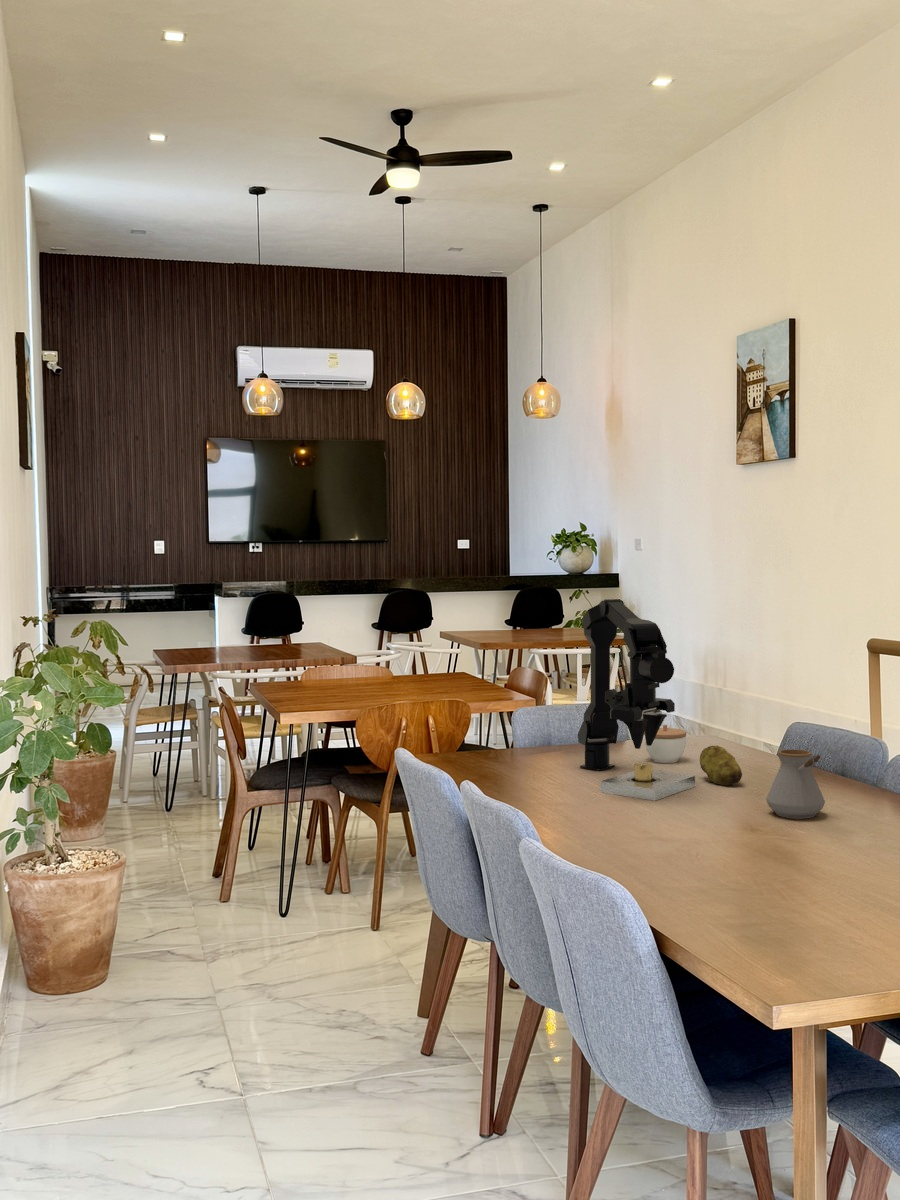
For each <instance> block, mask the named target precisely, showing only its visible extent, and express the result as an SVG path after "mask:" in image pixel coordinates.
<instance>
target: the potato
mask: <svg viewBox="0 0 900 1200" xmlns="http://www.w3.org/2000/svg"><path fill="white" fill-rule="evenodd" d="M699 764H700V769H701V770H702V771H703V772H704V773H705V774H706V776H707V778H708V780H709V781H711V782H712V783H714V784H718V785H722V786H734V785H736V784H738V783H739V782H740V781H741V780H742V777H743V773H742V769H741V767H740V765H739V763H738V762H737V760H736V757H734V756H733V755H732V754H731V753H730V752H728V750H726V748H725V747H722V746H720V745H710V746H707V747H704V748H703V749H702V751H701V752H700V755H699Z"/></svg>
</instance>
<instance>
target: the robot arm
mask: <svg viewBox="0 0 900 1200" xmlns="http://www.w3.org/2000/svg"><path fill="white" fill-rule="evenodd" d="M581 620H582V622H581V624H582V628H583V635H584V636H585V637H584V638H586V640H587V642H588V643H589V645H590V703H589V704H588V707H586V709H585V711H584V714H583V721H582V723H581V725H580V728H579V730H578V733H577V741H578V743H579V744H581V745H583V746H584V764H581V765H580V768H581V769H589V770H595V771H605V770H608V769H611V768H614V767H615V764H612V763H610V744H617V741H618V733H619V729H620V728H619V723H618V721H620V722H622V723H623V724H625V725H626V727H627V729H628V731H629V734H630V737H631V740H632V743H633V745H634V749H637V750H640V749H641V747H642V743H643V740H645V739H646V745H647V746H651V745H652V743H653V741H654V739H655V737H656V734H657V732H658V730H659V728H661V726H662V725H663V722H664V721H665V719H666V718H667V716H668V714H666V713H674V712H676V711H675V702H674V701H673V699H671V698H669V699H668V698H660V697H657V693H656V691H657V688H660V684H666V683H667V682H670V680H671V679H672V678H673V676H674V673H675V667H674V663H673V662H672V661H671V660H670V659H669V658H667V657H666V654H667V653H668V650H667V647H668V646H667V643H666V641H665V639H664V637H663V635H662V632H661V628H659V625H658V624H656V622H654V621H651V620H648V619H644V618H643V619H642V618H640V617H639V616H638V615H637V614H635V613H634V611H632V610H631V609H630V608H629V607H627V605H625V603H624V601H623V600H622V599H619V598H610V599H609V598H608V599H606V598H605V599H602V600H600V602H599V603H598V604H597V605H594V606H593V607H590V608H589V609H588V610H587V611H586V612H585V613H584V615H583V616H582V619H581ZM618 629H619V630H620V631H621V632H622V633H623V638H622V640H623V642H624V643H625V645H626V646H627V648H628V650H629V651H628V653H627V657H628V658H629V682H626V683H625V686H624V688H625V689H624V690H620V691H619V690H618V691H617V690H616V689H615V688H611V687H610V686H611V685H610V684H611V681H610V680H611V645H612V644H613V642H614V641H615V639H616V638H617V634H618ZM663 711H665V712H666V713H662V712H663ZM644 732H645V735H644Z"/></svg>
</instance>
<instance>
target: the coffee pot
mask: <svg viewBox="0 0 900 1200" xmlns="http://www.w3.org/2000/svg"><path fill="white" fill-rule="evenodd" d="M777 754H778V756H779V758H780V760H781V761H782V762H781V764H780V766H779V769H778V771H777V773H776V775H775V777H774V780H773V782H772V784H771V787H770V789H769V791H768V794H767V796H766V797H765V800H766V803H767V805H768V807H769V808H770V809H771V810H772V811H774V812H775V815H777V816H779V817H781V818H782V817H783V818H787V819H801V820H802V819H811V818H814V817H816V815H817V814H819V813H820V812H821V811H822V810H823V808H824V806H825V804H826V801H825V799H824V796H823V794H822V792H821V789H820V787H819V784H818V781H817V779H816V777H815V775H814V773H813V771H812V768H811V766H813V765H815V766H817V767H821V766H823V765H825V763H826V761H825V758H824V757H822V756H821V755H819V754H818V755H813V756H812V754H813V753H812V751H808V750H803V749H782V750H779V751H778V752H777ZM810 756H812V758H810ZM821 759H822V760H823V763H822V764H816V763H817V762H819V760H821Z"/></svg>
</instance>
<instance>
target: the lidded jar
mask: <svg viewBox="0 0 900 1200" xmlns="http://www.w3.org/2000/svg"><path fill="white" fill-rule="evenodd" d="M644 736H645V732H644ZM686 744H687V730H684V729H680V728H671V727H668V724H662V727H660V728H659V730H658V732H657V734H656V737H655V739H654V741H653V743H652V745H651V746H647V745H646V739H645V738H644V745H645V750H646V752H647V754H648V755H649V757H650V758H651V759H652V761H653V762H654V761H655V762H654V763H660V764H673V763H678V760H680V759H681V757H682V756H683V755H684V753H685V751H686V750H685V749H686Z"/></svg>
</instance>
